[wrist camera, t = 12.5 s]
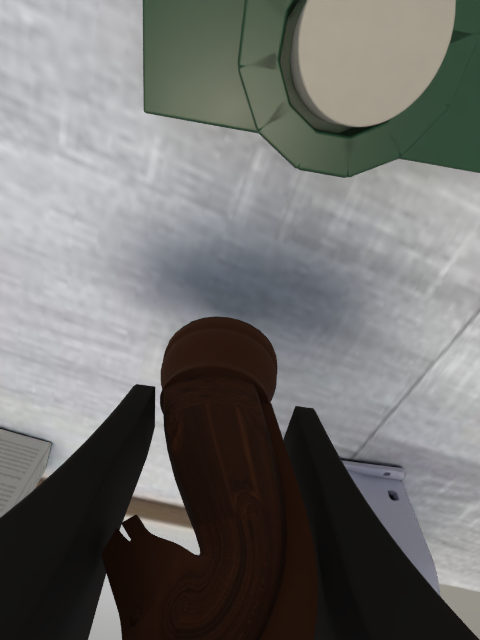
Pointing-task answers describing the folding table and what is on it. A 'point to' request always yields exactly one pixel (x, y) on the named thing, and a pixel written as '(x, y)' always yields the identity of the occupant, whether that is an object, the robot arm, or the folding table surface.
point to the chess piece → (221, 504)
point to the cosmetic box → (20, 467)
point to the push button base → (281, 96)
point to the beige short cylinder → (367, 56)
